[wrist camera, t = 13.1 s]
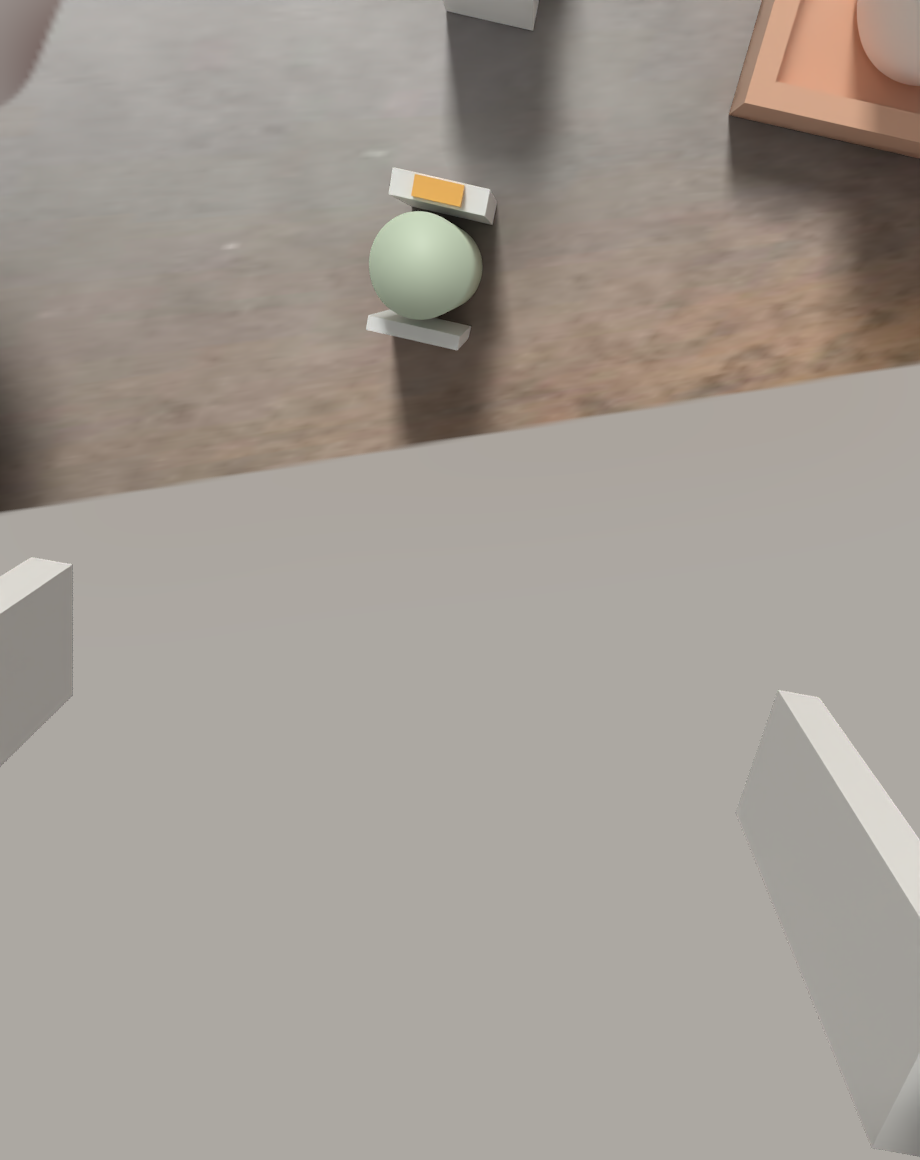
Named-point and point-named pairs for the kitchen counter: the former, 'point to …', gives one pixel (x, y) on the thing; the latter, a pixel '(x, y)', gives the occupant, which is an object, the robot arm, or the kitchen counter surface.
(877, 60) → the can
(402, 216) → the peg
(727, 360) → the kitchen counter surface
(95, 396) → the kitchen counter surface
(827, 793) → the robot arm
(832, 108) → the tray
